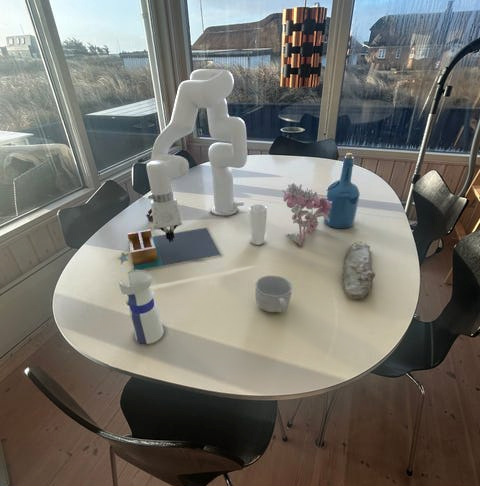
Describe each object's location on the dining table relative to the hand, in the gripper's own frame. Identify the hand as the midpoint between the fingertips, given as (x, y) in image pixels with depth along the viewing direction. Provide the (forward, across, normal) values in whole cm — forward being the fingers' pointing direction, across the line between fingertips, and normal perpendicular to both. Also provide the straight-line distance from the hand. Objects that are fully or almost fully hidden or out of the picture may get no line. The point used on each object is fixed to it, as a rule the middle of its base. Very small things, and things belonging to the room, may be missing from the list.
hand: (170, 239), depth 128 cm
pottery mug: (+4, -1, +26) cm, 27 cm away
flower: (+4, +55, -9) cm, 55 cm away
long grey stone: (+4, +59, -40) cm, 71 cm away
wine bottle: (+4, +74, -5) cm, 74 cm away
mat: (+3, +1, -2) cm, 4 cm away
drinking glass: (+4, +34, -9) cm, 35 cm away
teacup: (+3, +24, -49) cm, 54 cm away
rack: (+2, -11, -2) cm, 12 cm away
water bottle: (+3, -14, -47) cm, 49 cm away
